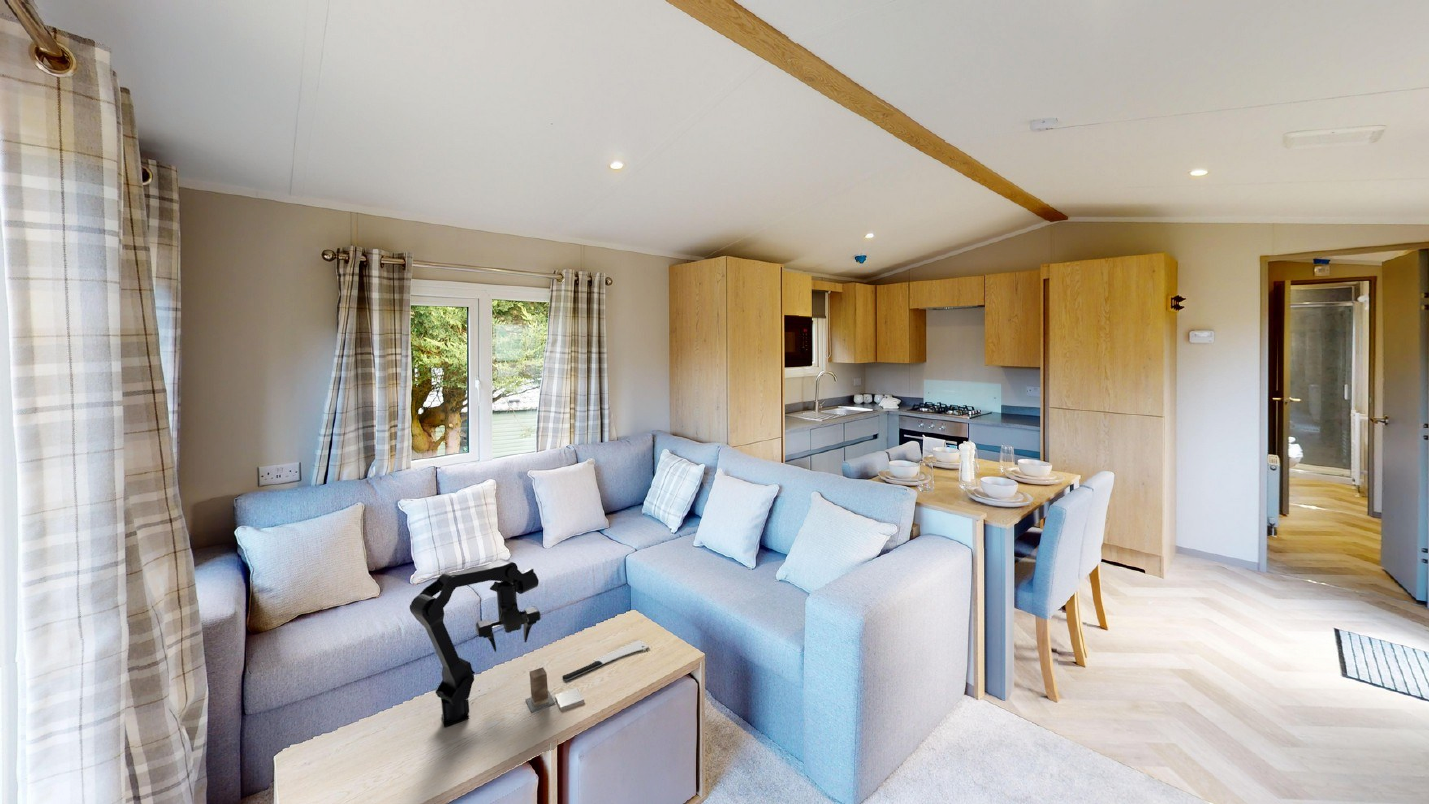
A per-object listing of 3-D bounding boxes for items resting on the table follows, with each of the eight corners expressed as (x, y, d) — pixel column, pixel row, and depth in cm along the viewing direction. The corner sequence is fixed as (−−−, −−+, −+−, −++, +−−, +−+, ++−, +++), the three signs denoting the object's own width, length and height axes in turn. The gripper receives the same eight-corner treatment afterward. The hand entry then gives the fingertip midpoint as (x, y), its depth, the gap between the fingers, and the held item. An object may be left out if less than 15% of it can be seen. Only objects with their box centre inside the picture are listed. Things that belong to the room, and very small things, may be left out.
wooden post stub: (534, 707, 160) (532, 678, 160) (531, 699, 164) (529, 671, 163) (548, 701, 163) (546, 673, 162) (545, 694, 166) (543, 667, 165)
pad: (531, 712, 158) (531, 711, 158) (525, 700, 164) (525, 699, 164) (555, 703, 162) (555, 702, 162) (548, 691, 168) (548, 690, 168)
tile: (555, 700, 165) (561, 712, 159) (554, 695, 165) (560, 707, 159) (577, 692, 168) (584, 704, 162) (577, 687, 168) (584, 699, 162)
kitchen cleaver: (636, 636, 199) (650, 643, 191) (636, 641, 199) (650, 648, 191) (554, 669, 179) (566, 679, 172) (555, 674, 179) (567, 684, 172)
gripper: (480, 618, 160) (483, 668, 161) (543, 600, 170) (546, 648, 171) (473, 604, 169) (477, 651, 170) (534, 588, 179) (537, 633, 180)
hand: (510, 646), depth 173 cm, fingers open, 9 cm apart
